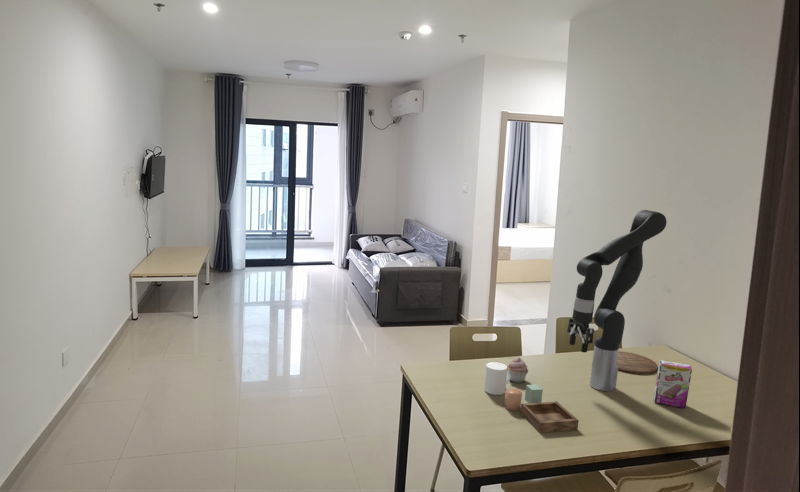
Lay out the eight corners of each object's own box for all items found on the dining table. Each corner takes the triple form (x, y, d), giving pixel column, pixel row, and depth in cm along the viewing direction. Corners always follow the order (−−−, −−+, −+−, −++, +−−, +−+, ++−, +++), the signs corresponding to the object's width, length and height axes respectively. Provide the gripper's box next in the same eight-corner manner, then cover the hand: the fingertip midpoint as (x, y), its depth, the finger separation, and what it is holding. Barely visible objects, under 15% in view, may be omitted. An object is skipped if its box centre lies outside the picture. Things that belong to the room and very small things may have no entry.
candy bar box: (654, 403, 212) (660, 363, 209) (653, 398, 217) (658, 359, 214) (686, 409, 209) (692, 368, 206) (684, 404, 213) (690, 364, 210)
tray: (555, 410, 201) (556, 401, 201) (577, 429, 188) (578, 420, 187) (520, 412, 198) (521, 403, 197) (539, 432, 184) (540, 423, 183)
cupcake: (523, 386, 221) (525, 363, 219) (501, 380, 226) (503, 357, 224) (530, 379, 229) (533, 356, 227) (509, 373, 234) (511, 351, 232)
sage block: (535, 399, 210) (536, 384, 209) (541, 404, 206) (542, 389, 205) (524, 399, 209) (526, 384, 208) (530, 405, 205) (531, 389, 204)
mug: (481, 364, 215) (502, 358, 222) (479, 389, 216) (500, 382, 224) (497, 371, 208) (518, 365, 215) (495, 397, 210) (516, 390, 217)
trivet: (667, 376, 241) (667, 372, 241) (610, 373, 241) (610, 369, 241) (643, 356, 266) (643, 352, 266) (591, 353, 266) (592, 349, 266)
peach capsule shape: (516, 403, 206) (517, 388, 205) (523, 410, 200) (525, 395, 199) (501, 404, 204) (502, 388, 203) (508, 411, 199) (509, 395, 198)
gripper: (602, 314, 211) (596, 354, 213) (581, 304, 224) (576, 342, 227) (585, 314, 209) (579, 354, 211) (565, 304, 222) (560, 342, 225)
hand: (577, 348), depth 219 cm, fingers open, 8 cm apart
